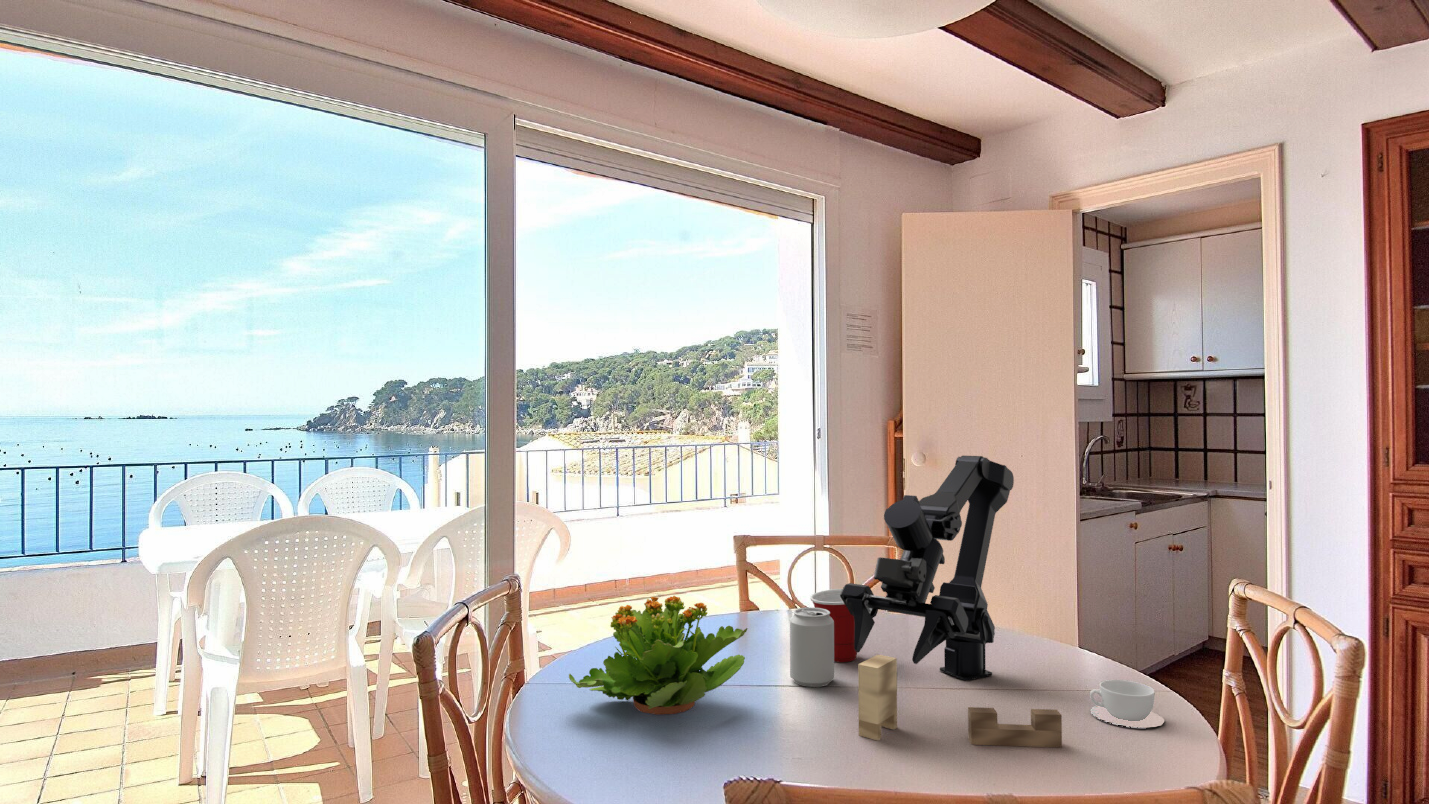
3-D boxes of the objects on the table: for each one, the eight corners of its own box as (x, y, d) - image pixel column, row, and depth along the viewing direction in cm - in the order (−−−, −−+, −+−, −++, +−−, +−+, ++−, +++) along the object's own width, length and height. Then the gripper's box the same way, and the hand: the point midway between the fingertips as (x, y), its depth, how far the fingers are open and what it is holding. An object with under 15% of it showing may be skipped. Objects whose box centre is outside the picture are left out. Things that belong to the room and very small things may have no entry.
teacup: (1158, 711, 126) (1157, 680, 126) (1171, 735, 117) (1171, 702, 117) (1086, 704, 130) (1086, 674, 130) (1094, 726, 120) (1093, 694, 120)
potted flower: (645, 671, 146) (645, 572, 146) (769, 691, 136) (769, 584, 136) (559, 718, 124) (559, 601, 124) (700, 746, 113) (700, 618, 113)
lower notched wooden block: (971, 744, 113) (971, 712, 113) (968, 738, 115) (968, 707, 115) (1061, 747, 112) (1061, 714, 112) (1057, 741, 114) (1056, 709, 114)
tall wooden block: (878, 722, 121) (877, 654, 122) (897, 727, 120) (896, 658, 120) (858, 735, 117) (858, 664, 117) (878, 740, 115) (877, 668, 115)
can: (832, 689, 136) (832, 616, 136) (787, 687, 138) (787, 614, 138) (835, 675, 143) (835, 606, 144) (792, 673, 145) (792, 604, 145)
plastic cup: (804, 650, 159) (804, 587, 159) (860, 648, 160) (859, 586, 160) (816, 667, 148) (816, 600, 148) (875, 665, 149) (875, 599, 149)
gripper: (845, 531, 130) (808, 614, 121) (960, 542, 119) (929, 635, 110) (869, 574, 136) (835, 656, 127) (980, 589, 125) (952, 680, 116)
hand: (884, 656), depth 120 cm, fingers open, 9 cm apart
